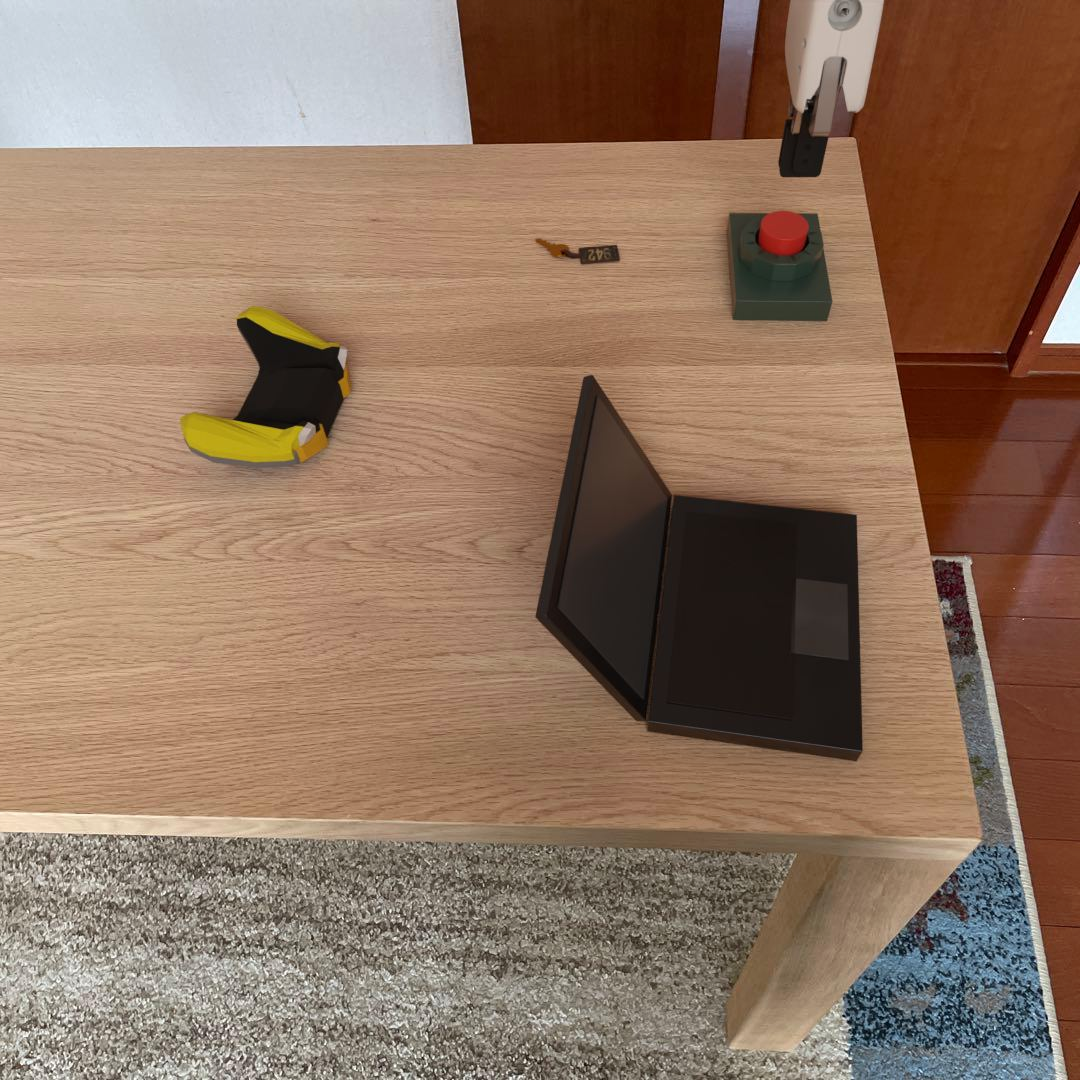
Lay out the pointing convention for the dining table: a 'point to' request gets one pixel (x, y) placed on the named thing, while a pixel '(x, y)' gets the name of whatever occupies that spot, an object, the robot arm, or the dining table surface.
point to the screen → (607, 553)
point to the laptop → (760, 629)
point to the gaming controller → (276, 398)
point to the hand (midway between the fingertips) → (798, 171)
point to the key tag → (584, 252)
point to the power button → (783, 233)
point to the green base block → (776, 274)
